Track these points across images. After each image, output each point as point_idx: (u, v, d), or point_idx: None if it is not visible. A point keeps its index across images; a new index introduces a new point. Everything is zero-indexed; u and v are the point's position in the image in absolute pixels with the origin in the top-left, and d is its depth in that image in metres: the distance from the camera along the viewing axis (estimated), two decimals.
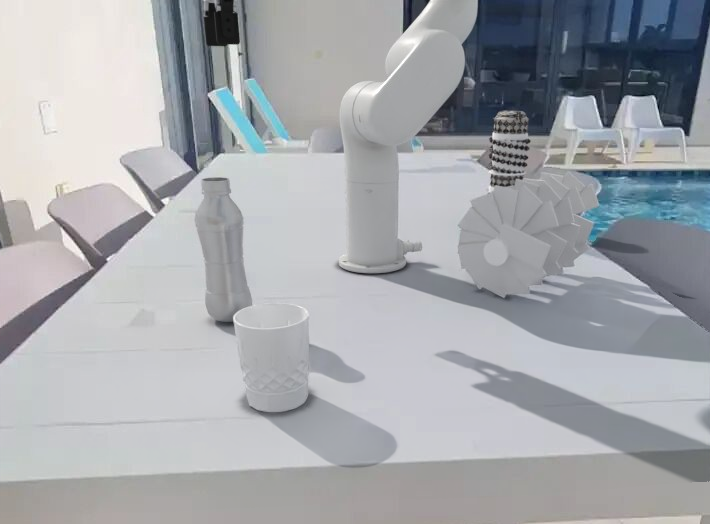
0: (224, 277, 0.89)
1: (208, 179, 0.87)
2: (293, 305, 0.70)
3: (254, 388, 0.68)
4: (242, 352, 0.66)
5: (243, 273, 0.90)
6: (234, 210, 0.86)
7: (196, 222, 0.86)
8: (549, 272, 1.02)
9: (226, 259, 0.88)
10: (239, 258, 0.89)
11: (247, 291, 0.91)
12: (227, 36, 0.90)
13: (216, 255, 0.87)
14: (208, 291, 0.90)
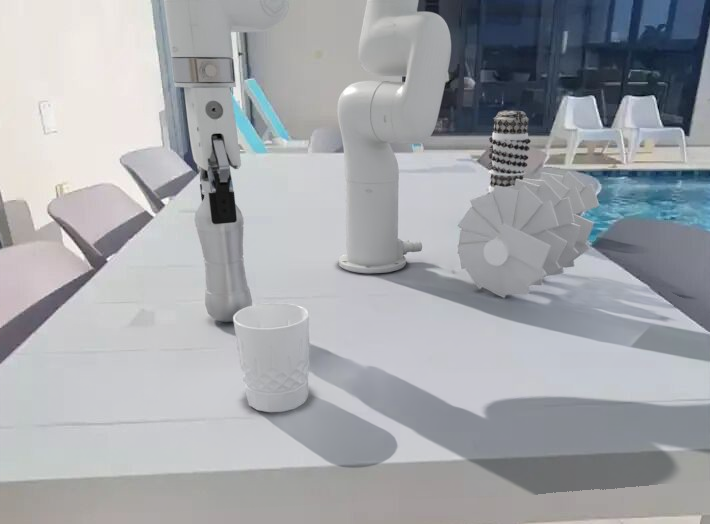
0: (224, 277, 0.89)
1: (208, 179, 0.86)
2: (293, 305, 0.70)
3: (254, 388, 0.68)
4: (242, 352, 0.66)
5: (243, 273, 0.90)
6: None
7: (196, 222, 0.86)
8: (549, 272, 1.02)
9: (226, 259, 0.88)
10: (239, 258, 0.89)
11: (247, 291, 0.91)
12: (223, 217, 0.83)
13: (216, 256, 0.87)
14: (208, 291, 0.90)
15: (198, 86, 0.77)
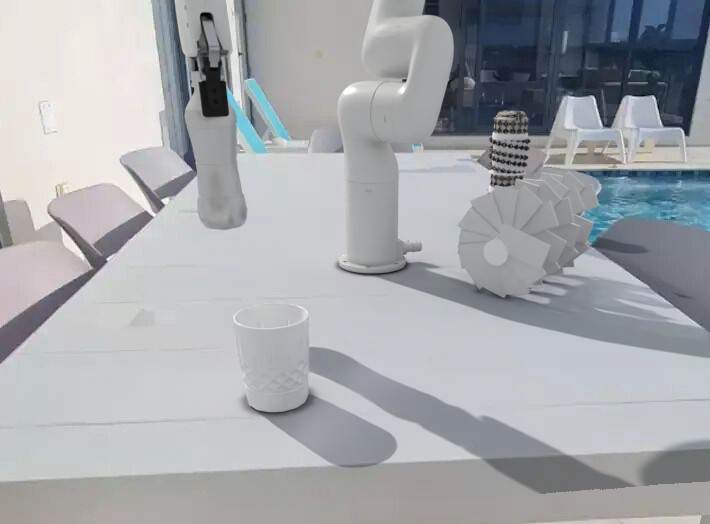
0: (217, 180, 0.83)
1: (198, 72, 0.81)
2: (293, 305, 0.70)
3: (254, 388, 0.68)
4: (242, 352, 0.66)
5: (237, 177, 0.85)
6: None
7: (186, 118, 0.81)
8: (549, 272, 1.02)
9: (219, 159, 0.82)
10: (232, 159, 0.84)
11: (241, 197, 0.86)
12: (214, 108, 0.78)
13: (207, 155, 0.82)
14: (200, 196, 0.85)
15: None
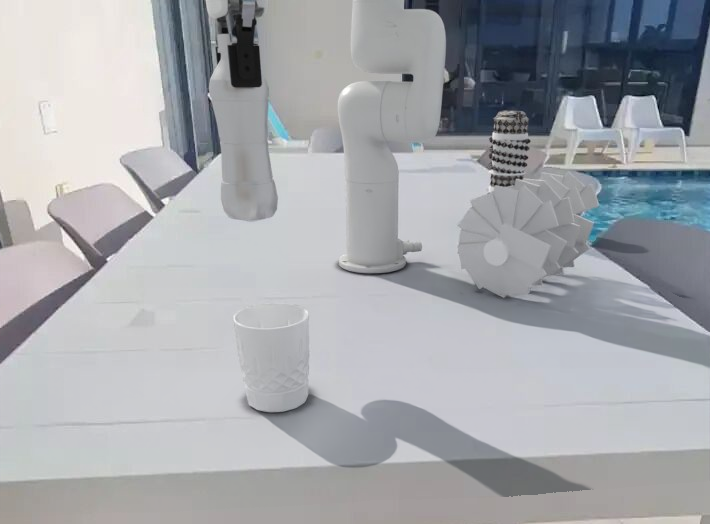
0: (245, 162, 0.72)
1: None
2: (293, 305, 0.70)
3: (254, 388, 0.68)
4: (242, 352, 0.66)
5: (268, 160, 0.73)
6: None
7: (211, 89, 0.69)
8: (549, 272, 1.02)
9: (248, 138, 0.71)
10: (263, 139, 0.72)
11: (272, 183, 0.75)
12: (245, 77, 0.66)
13: (235, 133, 0.70)
14: (225, 181, 0.73)
15: None
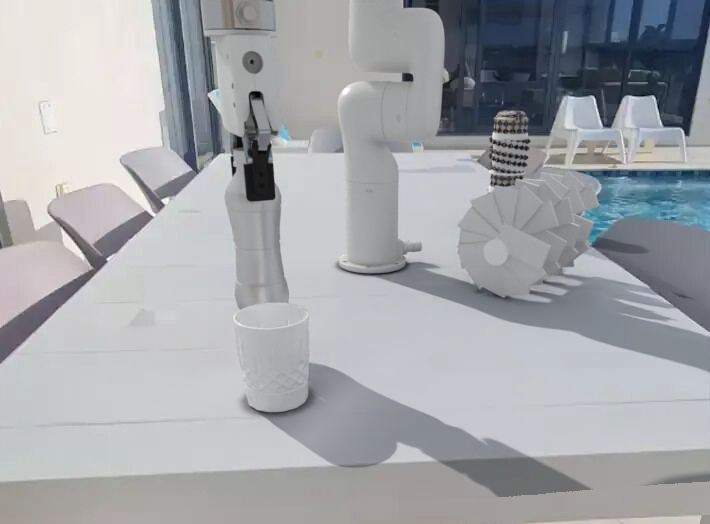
0: (259, 266, 0.75)
1: (241, 149, 0.73)
2: (293, 305, 0.70)
3: (254, 388, 0.68)
4: (242, 352, 0.66)
5: (280, 261, 0.77)
6: None
7: (227, 200, 0.73)
8: (549, 272, 1.02)
9: (261, 244, 0.75)
10: (276, 243, 0.76)
11: (284, 282, 0.78)
12: (260, 193, 0.70)
13: (249, 240, 0.74)
14: (239, 282, 0.77)
15: (234, 33, 0.64)
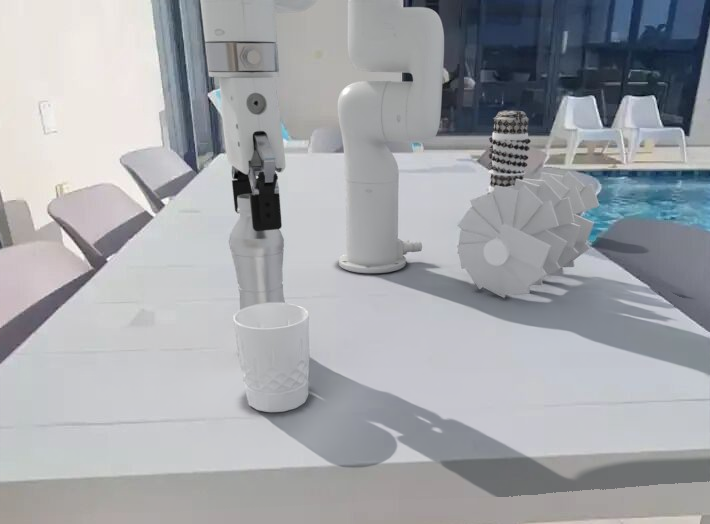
0: None
1: (244, 195, 0.76)
2: (293, 305, 0.70)
3: (254, 388, 0.68)
4: (242, 352, 0.66)
5: (282, 301, 0.80)
6: (274, 231, 0.75)
7: (231, 245, 0.75)
8: (549, 272, 1.02)
9: (264, 286, 0.77)
10: (279, 285, 0.78)
11: None
12: (266, 223, 0.71)
13: (253, 283, 0.76)
14: None
15: (238, 76, 0.66)
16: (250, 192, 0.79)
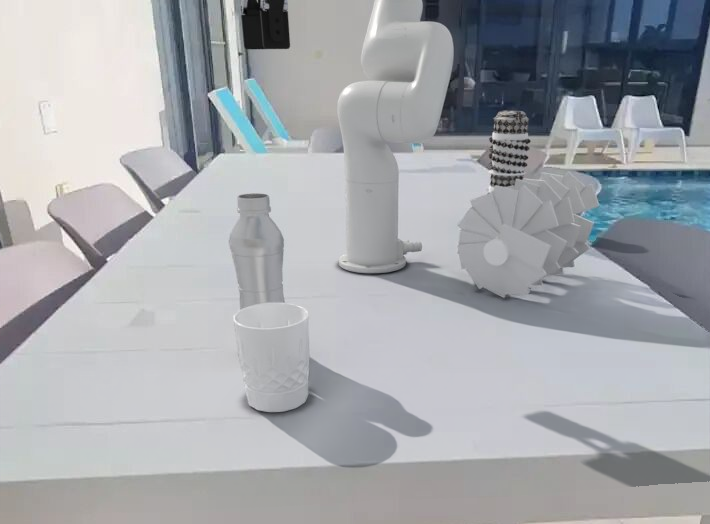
0: None
1: (244, 195, 0.76)
2: (293, 305, 0.70)
3: (254, 388, 0.68)
4: (242, 352, 0.66)
5: (282, 301, 0.80)
6: (274, 231, 0.75)
7: (231, 245, 0.75)
8: (549, 272, 1.02)
9: (264, 286, 0.77)
10: (279, 285, 0.78)
11: None
12: (276, 39, 0.75)
13: (253, 283, 0.76)
14: None
15: None
16: (258, 28, 0.83)
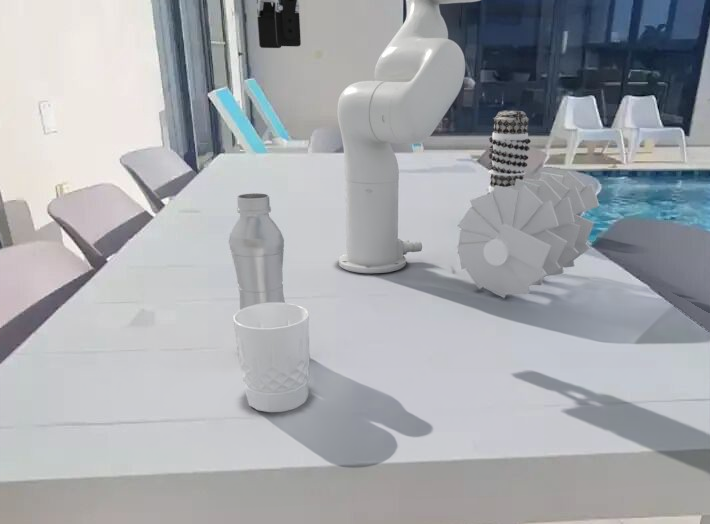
0: None
1: (244, 195, 0.76)
2: (293, 305, 0.70)
3: (254, 388, 0.68)
4: (242, 352, 0.66)
5: (282, 301, 0.80)
6: (274, 231, 0.75)
7: (231, 245, 0.75)
8: (549, 272, 1.02)
9: (264, 286, 0.77)
10: (279, 285, 0.78)
11: None
12: (288, 37, 0.84)
13: (253, 283, 0.76)
14: None
15: None
16: (272, 28, 0.92)
